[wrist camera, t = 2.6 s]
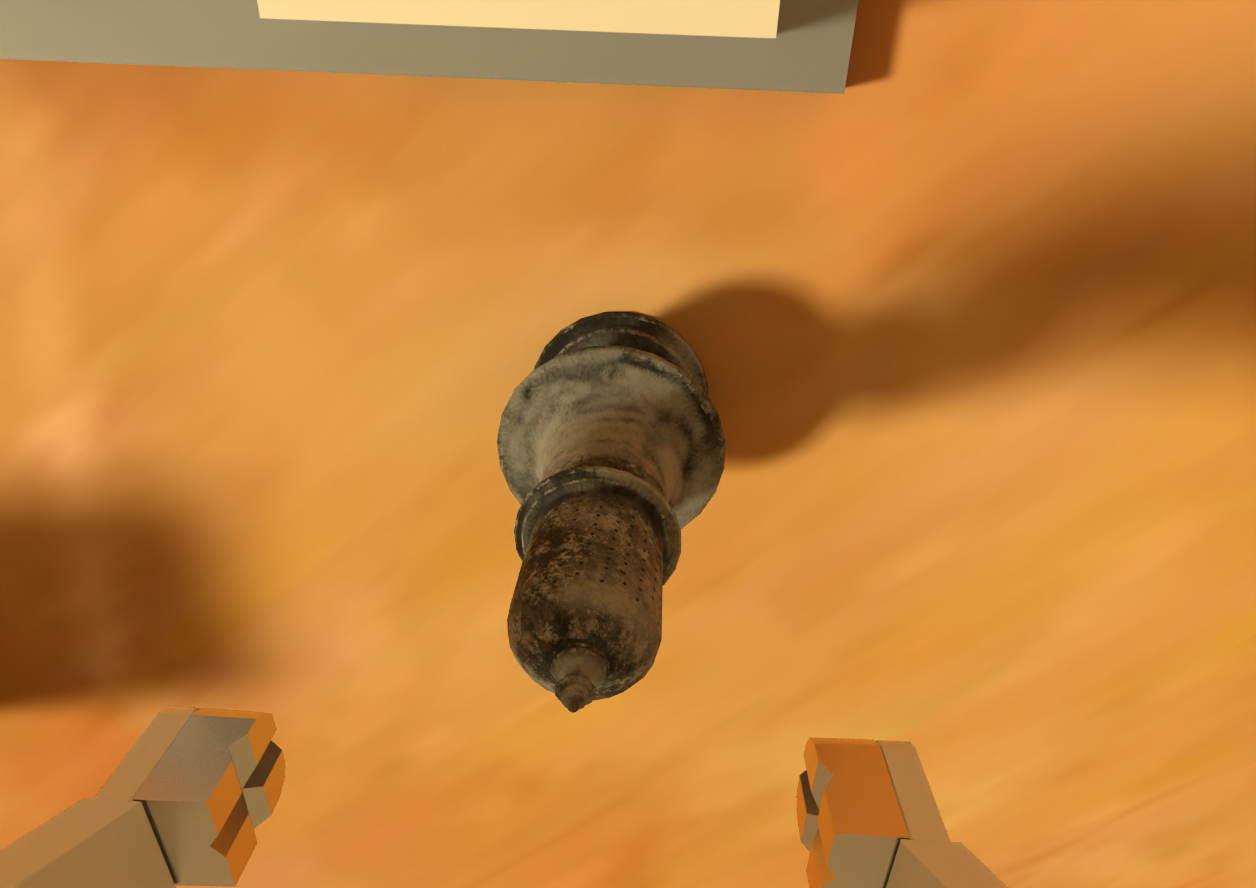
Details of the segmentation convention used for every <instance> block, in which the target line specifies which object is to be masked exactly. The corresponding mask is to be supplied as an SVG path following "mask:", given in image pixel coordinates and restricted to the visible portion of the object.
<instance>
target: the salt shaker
mask: <svg viewBox="0 0 1256 888" xmlns="http://www.w3.org/2000/svg"><path fill="white" fill-rule="evenodd" d="M497 444H498V452H499V461H500V467H501V470H502V472H503V474H504V477H505V479H506V482H507V484H508V486H509V489H510V491H511V492H512V494H513V495H514V496H515V497H516V499H517V500H518V501H519V502H520V504H521V507H520V509H519V511H518V514H517V519H516V524H515V530H514V534H515V542H516V549H517V552H518V554H519V556H520V558H521V561H522V566H521V570H520V573H519V577H518V580H517V584H516V587H515V591H514V594H513V598H512V601H511V604H510V610H509V615H508V620H507V622H508V636H509V643H510V648H511V650H512V652H513V654H514V656H515V658H516V660H517V662H518V663H519V664H520V665H521V667H522V668H523V669H524V670H525V671H526V673H527V674H528V675H529V676H530V677H531V678H532V679H533V680H534V681H535V682H536V683H538V684H539V685H540V686H542V687H543V688H545V689H546V690H548V691H551V692H553V693H555V695H556V696H557V698H558V699H559V700H560V701H561V702H562V704H563V705H564V706H565V707H566V708H568V710H569V711H570V712H576V711H577V710H579V709H582V708H584V706H585V705H587V704H589V703H591V702H592V701H593V700H598V699H604V698H610V697H612V696H615V695H617V694H619V693H622V692H624V691H625V690H627V689H628V688H630V687H631V686H633V685H634V684H635V683H637V682H638V681H639V680H641V679H642V678H643V677H644V676H645V675H646V673H647V672H648V671H649V669H650V668H651V667H652V665H653V663H654V660H655V657H656V654H657V651H658V648H659V645H660V642H661V633H662V586H663V585H664V584H665V583H666V582H667V580H668V579H669V577H670V576H671V575H672V573H673V572H674V570H675V569H676V566H677V563H678V560H679V557H680V553H681V530H680V529H682V528H683V527H684V526H685V525H687V524H688V523H689V522H690V521H692V520H693V519H694V518H695V517H696V516H698V515H699V514H700V513H701V512H702V510H703V509H704V508H705V506H706V505H707V503H708V502H709V501H710V499H711V498H712V496H713V495H714V494H715V492H716V489H717V487H718V484H719V481H720V478H721V475H722V472H723V469H724V458H725V438H724V434H723V430H722V427H721V423H720V419H719V415H718V412H717V411H716V409H715V408H714V406H713V404H712V403H711V401H710V399H709V398H708V385H707V381H706V378H705V374H704V370H703V366H702V364H701V362H700V361H699V359H698V357H697V356H696V354H695V352H694V351H693V349H692V347H691V346H690V345H689V344H688V343H687V342H686V341H685V340H684V339H683V338H682V337H681V336H680V335H679V334H678V333H677V332H676V331H674V330H673V329H671V328H670V327H668V326H666V325H664V324H662V323H660V322H659V321H657V320H655V319H653V318H650V317H646V316H642V315H638V314H634V313H630V312H604V313H600V314H596V315H593V316H589V317H585V318H582V319H580V320H578V321H576V322H574V323H573V324H571V325H569V326H568V327H566V328H564V329H562V330H561V331H560V332H559V333H558V334H557V335H556V336H555V337H554V338H553V339H552V340H551V341H550V342H549V343H548V344H547V345H546V346H545V348H544V350H543V352H542V354H541V356H540V358H539V360H538V362H537V363H536V365H535V368H534V370H533V371H532V372H531V373H530V374H529V375H528V376H527V377H526V378H525V379H524V380H523V381H522V383H521V384H520V385H519V386H518V387H517V388H516V389H515V390H514V392H513V394H512V396H511V398H510V400H509V402H508V404H507V406H506V408H505V409H504V411H503V413H502V417H501V422H500V428H499V433H498V439H497Z"/></svg>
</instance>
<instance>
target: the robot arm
mask: <svg viewBox="0 0 1256 888" xmlns="http://www.w3.org/2000/svg"><path fill="white" fill-rule="evenodd" d="M276 730H277V729H276V726H275V723H274V720H273V716H272V714H269V713H264V712H251V711H238V710H224V709H211V708H192V707H177V706H168V707H167V708H165V709H164V710H162V711H161V712H159V713H158V714H157V715H156V716H155V718H154V719H153V720H152V722H151V723H150V724H149V726H148V727H147V728H146V730H145V731H144V732H143V734H142V735H141V736H140V738H139V739H138V740H137V742H136V743H135V744H134V746H133V747H132V748H131V750H130V751H129V752H128V754H127V755H126V756H125V758H124V759H123V760H122V762H121V763H120V764H119V766H118V767H117V768H116V770H115V771H114V772H113V774H112V775H111V776H110V778H109V779H108V780H107V782H106V783H105V784H104V786H103V787H102V788H101V790H100V791H99V792H98V794H97V795H96V796H95V798H94V799H82V800H81V801H79V802H77V803H76V804H74V805H73V806H71V807H69V808H68V809H66V810H65V811H63V812H61V813H60V814H58V815H57V816H55V817H53V818H52V819H50V820H49V821H47V822H45V823H44V824H42V825H41V826H39V827H37V828H36V829H34V830H33V831H31V832H29V833H28V834H26V835H25V836H23V837H21V838H20V839H18V840H17V841H15V842H13V843H12V844H10V845H9V846H7V847H5V848H4V849H2V850H1V851H0V888H176V886H175V885H187V886H234V887H235V886H236V884H237V882H238V880H239V878H240V876H241V874H242V872H243V870H244V868H245V867H246V865H247V863H248V861H249V859H250V857H251V855H252V853H253V851H254V849H255V847H256V845H257V840H256V835H255V831H254V828H255V827H257V826H258V825H259V824H260V823H262V822H263V821H264V820H266V819H267V818H268V817H270V816H271V815H272V813H273V810H274V808H275V806H276V804H277V802H278V800H279V798H280V794H281V790H282V786H283V782H284V778H285V760H284V756H283V752H282V750H281V749H280V748H279V747H278V746H277V745H276V744H274V743H273V742H272V741H271V739H272V737H273V735H274V733H275V732H276ZM804 758H805V764H806V769H807V770H806V771H804V772H803V773H802V774H801V775H800V776H799V783H798V789H797V817H798V827H799V832H800V838H801V842H802V843H803V844H804V845H805V847H806V848H807V849H808V850H809V851H810V856H809V861H808V865H807V870H806V872H807V877H808V882H809V888H1008V887H1007V886H1006V885H1005V884H1004V883H1003V882H1002V881H1001V880H1000V879H999V878H998V877H997V876H996V875H995V874H994V873H993V872H992V871H991V870H989V869H988V868H987V867H986V866H985V865H984V864H983V863H982V862H981V861H980V860H979V859H978V858H977V857H976V856H975V855H974V854H973V853H972V852H970V851H969V850H968V849H967V848H966V847H965V846H964V845H963V844H962V843H961V842H950V839H949V836H948V834H947V831H946V828H945V826H944V823H943V820H942V818H941V815H940V812H939V810H938V807H937V804H936V802H935V799H934V796H933V794H932V791H931V788H930V786H929V783H928V780H927V778H926V775H925V772H924V770H923V767H922V764H921V762H920V759H919V756H918V754H917V751H916V748H915V747H914V746H913V745H912V744H911V742H901V741H879V740H877V741H874V740H866V739H837V738H809V739H808V741H807V743H806V747H805V751H804Z"/></svg>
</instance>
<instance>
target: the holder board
mask: <svg viewBox="0 0 1256 888" xmlns="http://www.w3.org/2000/svg"><path fill="white" fill-rule="evenodd" d="M858 1H859V0H0V59H14V60H38V61H63V62H87V63H111V64H136V65H160V66H184V67H209V68H233V69H257V70H282V71H306V72H330V73H355V74H379V75H403V76H427V77H452V78H476V79H500V80H525V81H549V82H573V83H598V84H622V85H646V86H671V87H695V88H719V89H743V90H768V91H792V92H816V93H841V94H844V92H845V86H846V79H847V73H848V66H849V60H850V53H851V47H852V40H853V34H854V27H855V21H856V14H857V8H858Z"/></svg>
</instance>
